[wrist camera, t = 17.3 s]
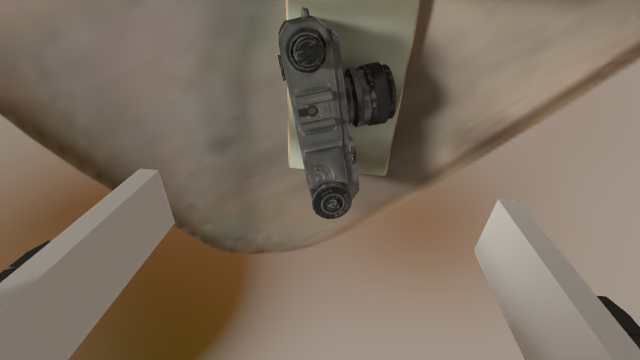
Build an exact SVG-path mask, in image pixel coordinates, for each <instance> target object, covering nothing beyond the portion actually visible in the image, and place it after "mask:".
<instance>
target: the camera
mask: <svg viewBox="0 0 640 360" xmlns="http://www.w3.org/2000/svg"><path fill="white" fill-rule="evenodd" d="M279 47H280V54H281V55H278V59H279V63H280V68H281V73H282V77H283V81H284V80H286V82H287V87H288V92H289V96H290V101H291V106H292V111H293V115H294V120H295V125H296V130H297V135H298V140H299V145H300V149H301V154H302V159H303V164H304V169H305V174H306V178H307V183H308V187H309V191H310V196H311V200H312V205H313V209H314V211H315V213H316V214H317V215H319V216H320V217H322V218H326V219H335V218H339V217H341V216H343V215H344V214H345V213H347V211H348V210H349V209H350V208H351V203H352V199H353V198H354V196H355V195H356V194H357V193H358V191H359V182H358V170H357V159H356V149H355V143H354V140H353V139H352V137H351V136H350V132H349V126H350V123H352V124H353V125H354V126H355V127H361V126H364V125H368V126H371V125H378V124H383V123H386V122H387V121H388V119H391V118H393V116H394V115H395V111H396V103H397V100H396V87H395V82H394V78H393V74H392V72H391V69H390V67H389V66H387V65H386V64H384V65H381V64H380V63H379V62H374V63H368V64H365V65H362V66H358V68H350V69H347V70H346V71H345V76H344V75H343V68H342V60H341V53H340V45H339V38H338V34H337V33H336V32H335V31H333V30H330V29H327V26H326V25H324V24H323V23H322V22H321V21H320V20H319V19H318V18H316V17H313V16H310V14H309V10H308V8H304V7H302V10H301V17H298V18H295V19H290V20H286V21H284V22H283V24H282V26H281V27H280V31H279Z"/></svg>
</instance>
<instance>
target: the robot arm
mask: <svg viewBox="0 0 640 360" xmlns="http://www.w3.org/2000/svg"><path fill="white" fill-rule="evenodd" d="M174 223H175V222H174V219H173V215H172V212H171V209H170V206H169V203H168V199H167V196H166V193H165V190H164V187H163V184H162V180H161V177H160V174H159V171H158V170H148V169H139V170H138V171H137V172H135V173H134V174H133V175H132V176H130V177H129V178H128V179H127V180H126V181H124V182H123V183H122V184H121V185H119V186H118V187H117V188H116V189H115V190H113V191H112V192H111V193H110V194H108V195H107V196H106V197H105V198H104V199H102V200H101V201H100V202H99V203H98V204H96V205H95V206H94V207H93V208H92V209H90V210H89V211H88V212H86V213H85V214H84V215H83V216H82V217H80V218H79V219H78V220H77V221H76V222H74V223H73V224H72V225H71V226H69V227H68V228H67V229H66V230H65V231H63V232H62V233H61V234H60V235H58V236H57V237H56V238H55V239H54V240H52V241H47V242H45V243H43V244H41V245H40V246H38V247H36V248H34V249H32V250H30V251H28V252H27V253H25V254H24V255H23V256H22V257H21V258H19V259H18V260H17V261H15V262H14V263H13V264H12V265H10V266H9V269H8V270H4V271H3V272H1V273H0V360H68V359H69V357H70V356H71V355H72V354H73V352H74V351H75V350H76V349H77V347H78V346H79V345H80V344H81V342H82V341H83V340H84V338H85V337H86V336H87V335H88V333H89V332H90V331H91V329H92V328H93V327H94V326H95V324H96V323H97V322H98V320H99V319H100V318H101V317H102V315H103V314H104V313H105V312H106V310H107V309H108V308H109V306H110V305H111V304H112V302H113V301H114V300H115V299H116V297H117V296H118V295H119V294H120V292H121V291H122V290H123V289H124V287H125V286H126V285H127V283H128V282H129V281H130V279H131V278H132V277H133V276H134V274H135V273H136V272H137V271H138V269H139V268H140V266H141V265H142V264H143V263H144V262H145V260H146V259H147V258H148V256H149V255H150V254H151V253H152V251H153V250H154V249H155V247H156V246H157V245H158V244H159V242H160V241H161V240H162V238H163V237H164V236H165V235H166V233H167V232H168V231H169V229H170V228H171V227H172V226H173V224H174ZM474 253H475V255H476V258H477V260H478V262H479V264H480V266H481V268H482V270H483V272H484V274H485V277H486V279H487V281H488V283H489V285H490V287H491V289H492V291H493V293H494V296H495V298H496V300H497V302H498V304H499V306H500V308H501V310H502V312H503V315H504V317H505V319H506V321H507V323H508V325H509V327H510V329H511V331H512V333H513V335H514V338H515V340H516V342H517V344H518V346H519V348H520V350H521V353H522V354H523V357H524V359H525V360H640V327H639V326H638V325H637V324H636V323H635V321H634V320H633V319H632V318H631V317H630V315H628V314H627V313H626V312H625V311H624V310H622V309H621V308H620V307H619V306H617V305H616V304H615V303H613V302H612V301H611V300H610V299H608V298H607V297H604V296H596V295H595V293H594V292H593V291H592V290H591V289H590V287H589V286H588V285H587V284H586V282H585V281H584V280H583V279H582V278H581V276H580V275H579V274H578V273H577V271H576V270H575V269H574V268H573V267H572V265H571V264H570V263H569V261H568V260H567V259H566V258H565V257H564V255H563V254H562V253H561V252H560V250H559V249H558V248H557V247H556V245H555V244H554V243H553V242H552V241H551V240H550V238H549V237H548V236H547V235H546V233H545V232H544V231H543V229H542V228H541V227H540V226H539V225H538V223H537V222H536V221H535V220H534V218H533V217H532V216H531V215H530V214H529V212H528V211H527V210H526V209H525V207H524V206H523V205H522V204H521V202H520V201H511V200H500V199H499V200H498V201H497V203H496V205H495V207H494V209H493V211H492V213H491V216H490V218H489V220H488V222H487V224H486V226H485V228H484V230H483V232H482V235H481V237H480V239H479V241H478V243H477V245H476V247H475V249H474Z"/></svg>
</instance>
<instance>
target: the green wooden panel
mask: <svg viewBox="0 0 640 360" xmlns="http://www.w3.org/2000/svg"><path fill="white" fill-rule="evenodd" d="M420 5H421V0H286V20H290V19H295V18H298V17H301V10H302V7H304V8H308V10H309V14H310V16H313V17H316V18H318V19H319V20H320V21H321V22H322V23H323V24H324V25H326V26H327V29H330V30H333V31H335V32H336V33H337V34H338V38H339V45H340V53H341V60H342V68H343V75H344V76H345V71H346V70H347V69H350V68H358V66H362V65H365V64H368V63H374V62H379V63H380V64H381V65H384V64H386V65H387V66H389V67H390V69H391V72H392V74H393V78H394V82H395V87H396V100H397V103H396V111H395V115H394V116H393V118H391V119H388V121H387V122H386V123H383V124H378V125H371V126H368V125H364V126H361V127H355V126H354V125H353V124H352V123H350V126H349V132H350V136H351V137H352V139H353V140H354V143H355V149H356V159H357V170H358V174H367V175H378V176H385V175H386V173H387V168H388V163H389V158H390V153H391V148H392V143H393V138H394V133H395V128H396V124H397V119H398V114H399V109H400V104H401V99H402V94H403V89H404V84H405V79H406V74H407V69H408V64H409V59H410V55H411V50H412V45H413V40H414V35H415V30H416V25H417V20H418V15H419V10H420ZM287 101H288V167H290V168H300V169H304V164H303V159H302V154H301V149H300V145H299V140H298V135H297V130H296V125H295V120H294V115H293V111H292V106H291V101H290V96H289V92H288V87H287Z"/></svg>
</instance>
